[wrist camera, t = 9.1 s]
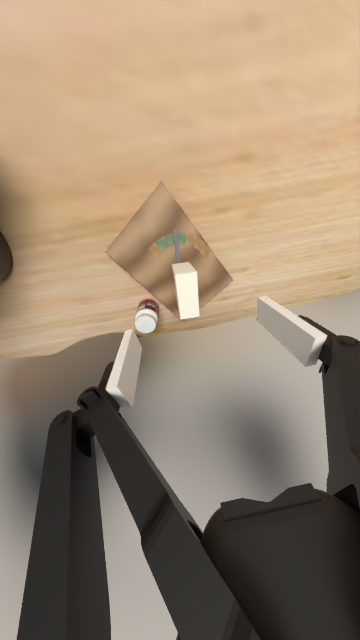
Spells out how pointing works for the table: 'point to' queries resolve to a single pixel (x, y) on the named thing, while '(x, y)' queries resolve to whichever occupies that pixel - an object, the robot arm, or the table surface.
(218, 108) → the table surface
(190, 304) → the white boxy piece
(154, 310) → the pill bottle
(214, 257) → the board
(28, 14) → the table surface
